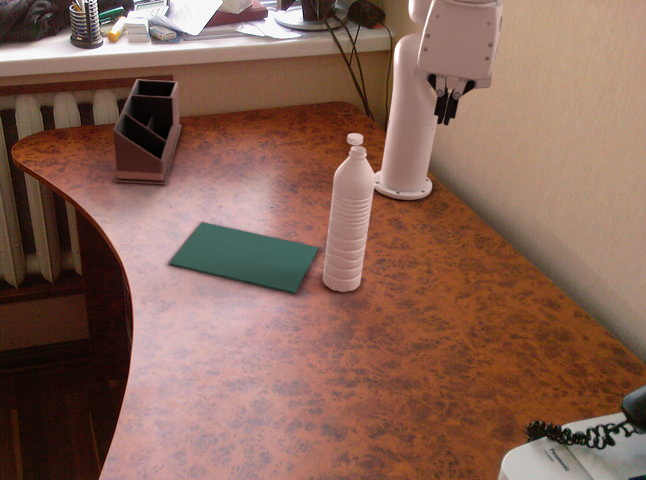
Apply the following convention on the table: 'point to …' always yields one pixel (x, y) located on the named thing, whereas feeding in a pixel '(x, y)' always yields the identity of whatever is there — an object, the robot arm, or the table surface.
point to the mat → (246, 257)
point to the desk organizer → (147, 132)
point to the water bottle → (349, 219)
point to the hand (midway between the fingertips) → (443, 121)
